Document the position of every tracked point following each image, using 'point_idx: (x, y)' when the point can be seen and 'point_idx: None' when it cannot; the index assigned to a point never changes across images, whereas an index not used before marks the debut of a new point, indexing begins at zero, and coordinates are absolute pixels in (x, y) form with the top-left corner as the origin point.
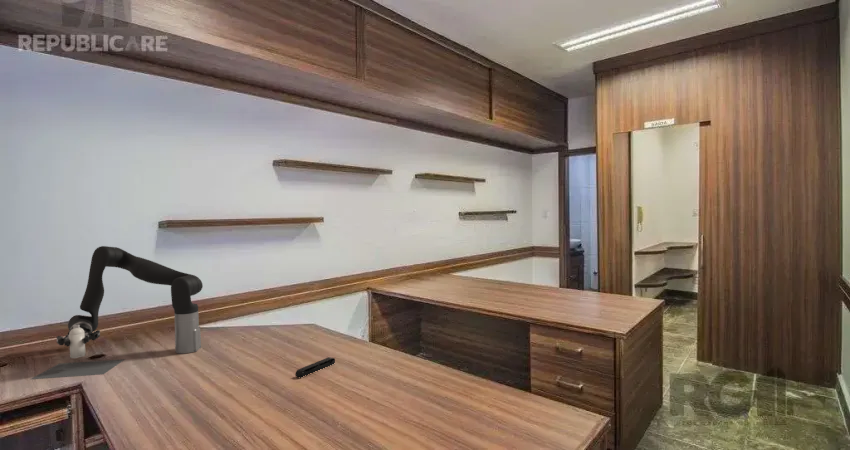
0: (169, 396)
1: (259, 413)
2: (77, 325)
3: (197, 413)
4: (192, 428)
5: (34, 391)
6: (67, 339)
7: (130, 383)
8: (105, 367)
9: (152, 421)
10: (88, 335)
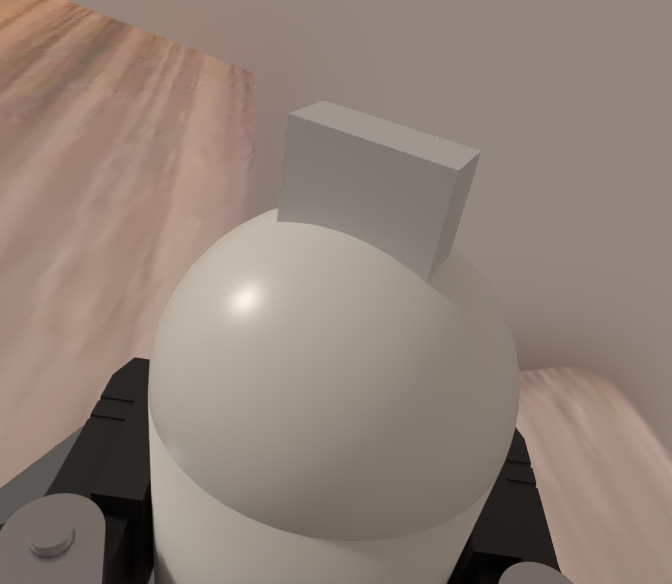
0: (60, 107)
1: (2, 19)
2: (347, 114)
3: (81, 55)
4: (128, 44)
5: (521, 414)
6: (501, 488)
7: (78, 223)
8: None
9: (170, 75)
10: (44, 496)
